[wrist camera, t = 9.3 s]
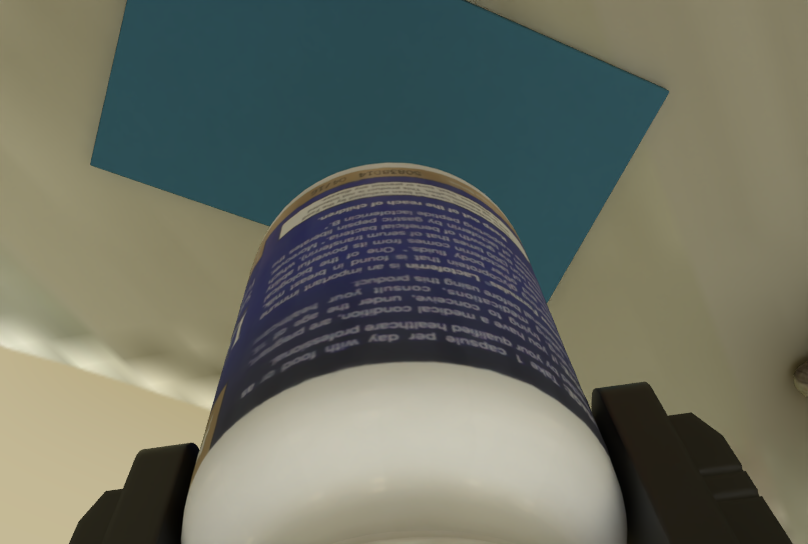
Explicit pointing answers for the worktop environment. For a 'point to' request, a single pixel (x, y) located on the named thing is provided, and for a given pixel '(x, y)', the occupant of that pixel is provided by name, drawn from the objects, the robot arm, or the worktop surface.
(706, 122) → the worktop surface
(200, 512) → the pill bottle
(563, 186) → the towel
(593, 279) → the worktop surface
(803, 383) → the tabletop clock
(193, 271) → the worktop surface
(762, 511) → the robot arm
